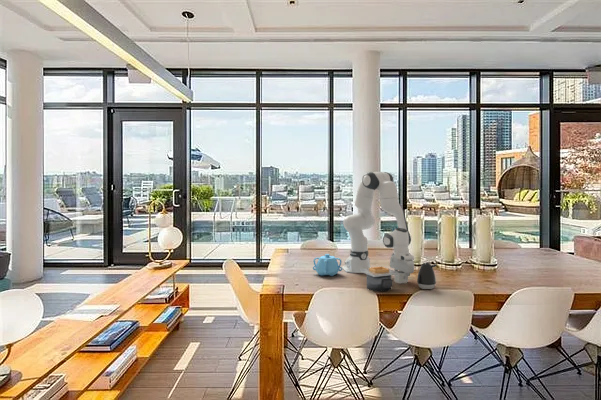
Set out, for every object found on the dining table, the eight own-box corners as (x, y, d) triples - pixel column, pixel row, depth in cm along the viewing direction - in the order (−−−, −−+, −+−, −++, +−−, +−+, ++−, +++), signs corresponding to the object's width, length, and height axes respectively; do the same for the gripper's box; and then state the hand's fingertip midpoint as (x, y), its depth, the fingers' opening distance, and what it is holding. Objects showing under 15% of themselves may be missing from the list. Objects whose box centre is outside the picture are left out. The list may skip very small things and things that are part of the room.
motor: (359, 286, 250) (359, 269, 250) (383, 283, 256) (383, 267, 255) (376, 294, 233) (376, 276, 233) (400, 291, 239) (400, 273, 239)
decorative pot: (344, 275, 278) (344, 255, 278) (323, 278, 271) (322, 257, 270) (331, 271, 293) (331, 251, 292) (311, 273, 286) (310, 253, 285)
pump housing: (394, 281, 261) (394, 271, 260) (406, 280, 264) (406, 269, 263) (399, 283, 256) (399, 272, 256) (411, 282, 259) (411, 271, 259)
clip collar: (368, 270, 247) (368, 267, 247) (381, 269, 250) (381, 266, 250) (375, 273, 240) (375, 270, 240) (389, 271, 243) (389, 269, 243)
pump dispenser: (435, 291, 236) (435, 264, 236) (416, 290, 240) (416, 263, 240) (436, 287, 246) (437, 261, 245) (418, 285, 250) (418, 260, 249)
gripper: (387, 252, 267) (387, 274, 268) (406, 258, 248) (406, 282, 249) (395, 252, 269) (395, 273, 270) (415, 257, 250) (415, 280, 251)
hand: (401, 277), depth 259 cm, fingers open, 7 cm apart
